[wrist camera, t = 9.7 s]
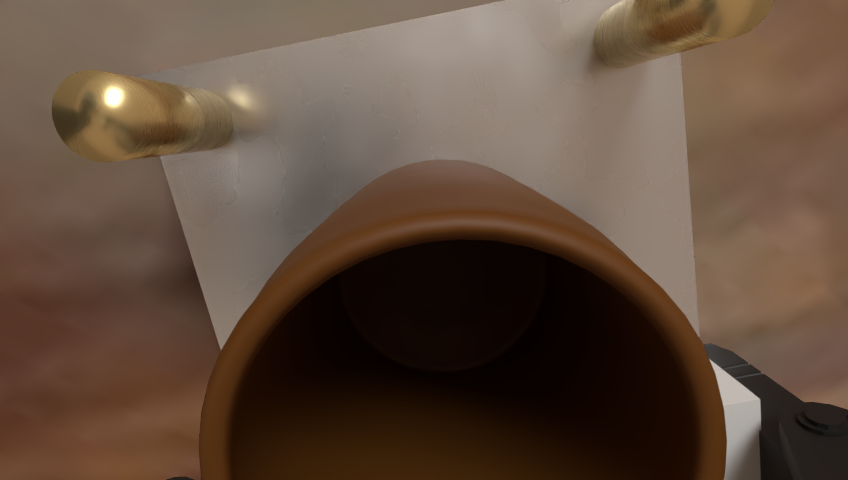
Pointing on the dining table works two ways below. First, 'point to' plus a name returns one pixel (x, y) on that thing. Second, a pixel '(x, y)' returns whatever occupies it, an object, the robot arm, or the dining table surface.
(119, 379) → the dining table surface
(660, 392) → the mug
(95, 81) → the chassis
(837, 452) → the robot arm
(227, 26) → the dining table surface
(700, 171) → the dining table surface
